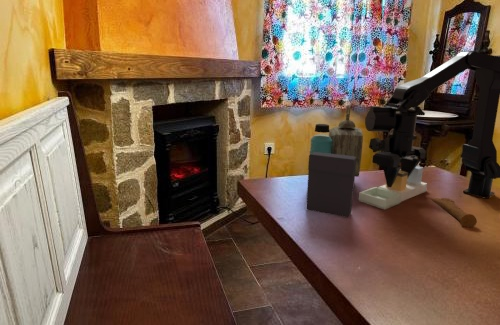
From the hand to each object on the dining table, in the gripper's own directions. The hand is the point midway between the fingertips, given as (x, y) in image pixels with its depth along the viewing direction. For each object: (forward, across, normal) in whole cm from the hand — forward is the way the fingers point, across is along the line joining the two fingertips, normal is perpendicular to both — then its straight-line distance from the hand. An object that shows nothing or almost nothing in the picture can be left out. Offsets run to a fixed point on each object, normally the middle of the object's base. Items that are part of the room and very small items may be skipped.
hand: (396, 184), depth 102 cm
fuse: (+4, -9, 0) cm, 10 cm away
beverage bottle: (+4, +14, -17) cm, 22 cm away
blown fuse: (+4, 0, 0) cm, 4 cm away
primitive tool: (+4, -2, +15) cm, 16 cm away
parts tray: (+4, +8, 0) cm, 9 cm away
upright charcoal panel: (+4, +25, -4) cm, 26 cm away
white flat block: (+4, -4, 0) cm, 6 cm away
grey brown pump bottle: (+4, +3, -17) cm, 18 cm away
